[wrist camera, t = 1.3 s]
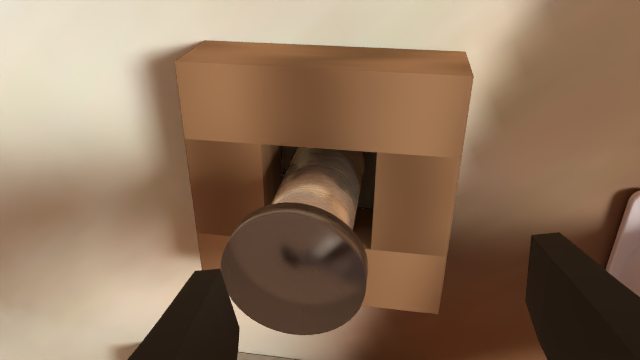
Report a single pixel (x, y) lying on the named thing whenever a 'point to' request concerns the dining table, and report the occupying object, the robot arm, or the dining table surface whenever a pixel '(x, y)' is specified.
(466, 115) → the brown square frame
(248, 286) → the pin
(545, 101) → the dining table surface
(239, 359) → the tray
